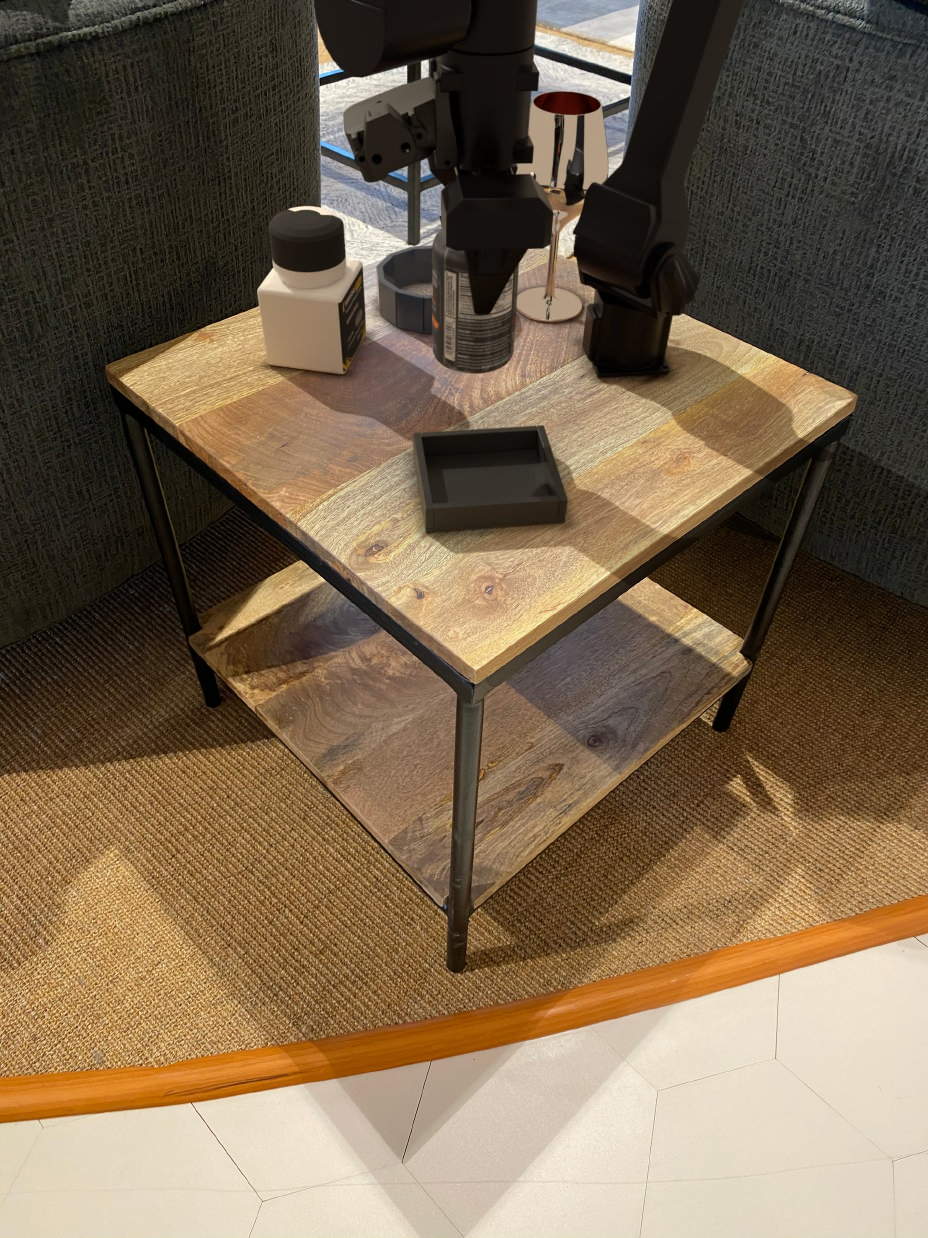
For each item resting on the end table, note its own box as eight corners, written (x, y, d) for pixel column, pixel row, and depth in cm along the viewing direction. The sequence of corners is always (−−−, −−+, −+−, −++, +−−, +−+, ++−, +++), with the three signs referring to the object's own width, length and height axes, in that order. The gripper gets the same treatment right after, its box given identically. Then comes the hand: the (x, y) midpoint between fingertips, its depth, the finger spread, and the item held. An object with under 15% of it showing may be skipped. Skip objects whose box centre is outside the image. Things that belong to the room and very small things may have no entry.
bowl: (478, 277, 97) (479, 243, 95) (493, 330, 90) (495, 294, 88) (375, 281, 96) (373, 247, 94) (382, 335, 89) (381, 299, 87)
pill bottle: (448, 327, 75) (451, 175, 67) (523, 342, 74) (535, 189, 65) (420, 367, 71) (419, 210, 63) (498, 383, 70) (507, 226, 61)
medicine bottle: (345, 376, 85) (335, 240, 76) (266, 365, 85) (247, 230, 77) (367, 334, 89) (360, 202, 81) (292, 324, 90) (277, 193, 82)
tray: (541, 448, 78) (543, 424, 76) (565, 523, 72) (568, 499, 70) (413, 455, 77) (412, 432, 75) (425, 533, 71) (425, 509, 69)
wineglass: (487, 303, 94) (496, 100, 81) (545, 276, 98) (562, 79, 85) (551, 336, 90) (571, 128, 77) (608, 306, 94) (637, 104, 81)
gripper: (343, -4, 63) (356, 234, 74) (351, 96, 50) (365, 366, 61) (515, -4, 64) (502, 230, 75) (566, 94, 51) (542, 360, 62)
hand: (476, 290), depth 69 cm, fingers closed on pill bottle, 6 cm apart
